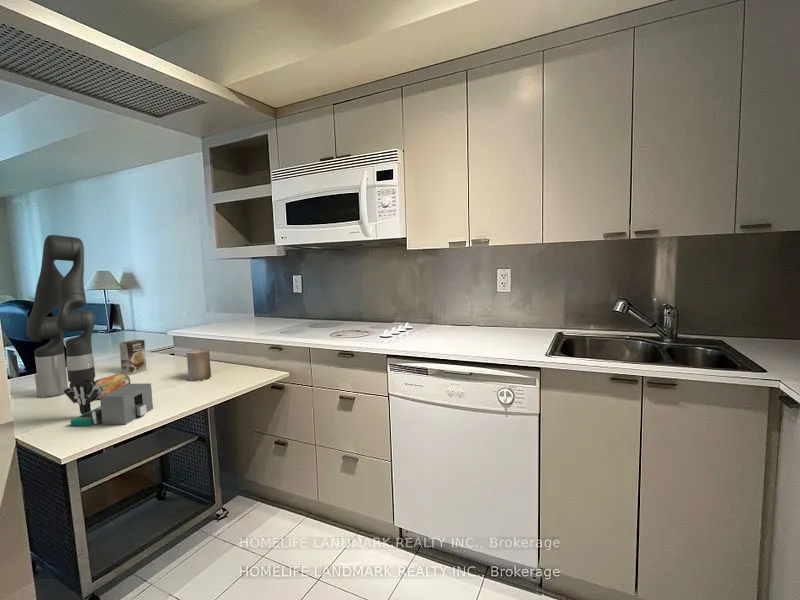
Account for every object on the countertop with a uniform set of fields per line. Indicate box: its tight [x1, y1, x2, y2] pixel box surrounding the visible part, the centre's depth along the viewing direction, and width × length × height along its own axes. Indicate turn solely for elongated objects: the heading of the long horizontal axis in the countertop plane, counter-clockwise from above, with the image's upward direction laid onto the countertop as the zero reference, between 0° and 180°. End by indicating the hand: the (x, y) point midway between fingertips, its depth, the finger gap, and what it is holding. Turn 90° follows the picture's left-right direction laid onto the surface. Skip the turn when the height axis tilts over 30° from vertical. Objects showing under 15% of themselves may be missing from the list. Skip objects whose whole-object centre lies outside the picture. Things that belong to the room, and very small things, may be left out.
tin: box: [94, 373, 131, 400], centre depth 161 cm, size 15×3×8 cm, turn 162°
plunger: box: [91, 404, 148, 425], centre depth 141 cm, size 13×21×4 cm, turn 178°
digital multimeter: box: [70, 405, 101, 427], centre depth 137 cm, size 7×15×3 cm, turn 178°
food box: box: [119, 339, 148, 375], centre depth 196 cm, size 9×6×16 cm
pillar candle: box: [185, 347, 212, 382], centre depth 183 cm, size 10×10×15 cm
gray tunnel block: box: [99, 382, 154, 426], centre depth 137 cm, size 8×14×10 cm, turn 178°
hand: (85, 413), depth 138 cm, fingers closed
